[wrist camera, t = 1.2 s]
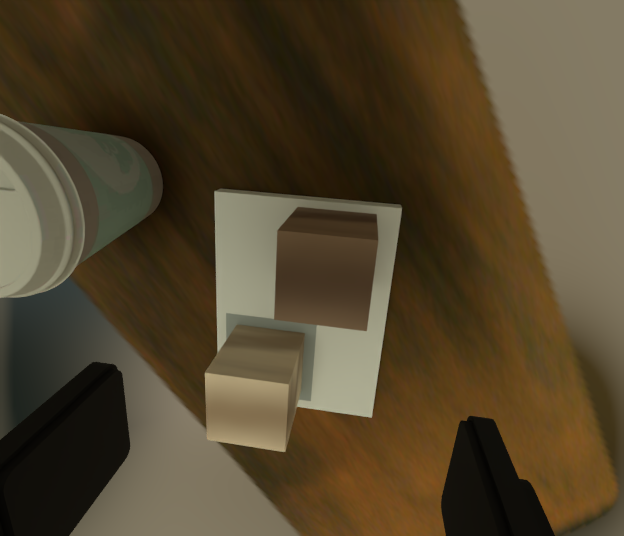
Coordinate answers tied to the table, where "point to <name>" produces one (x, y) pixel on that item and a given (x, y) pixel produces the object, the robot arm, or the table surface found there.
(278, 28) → the table surface
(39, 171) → the coffee cup
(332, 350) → the build board
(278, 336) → the beech block
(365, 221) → the walnut block
